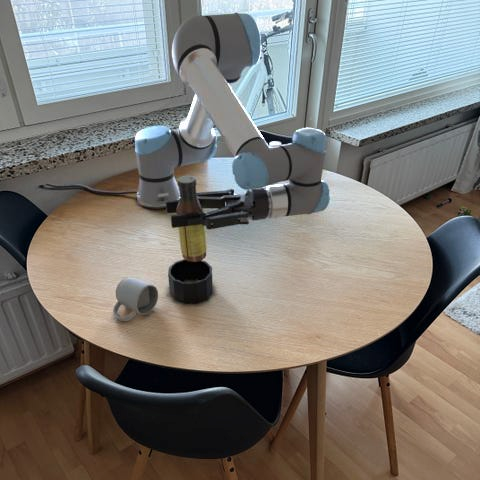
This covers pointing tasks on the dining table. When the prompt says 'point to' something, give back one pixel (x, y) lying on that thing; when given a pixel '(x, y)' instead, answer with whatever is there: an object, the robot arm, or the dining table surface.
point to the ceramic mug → (135, 297)
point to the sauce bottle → (195, 234)
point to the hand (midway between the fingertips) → (169, 214)
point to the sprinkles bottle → (274, 144)
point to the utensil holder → (190, 290)
